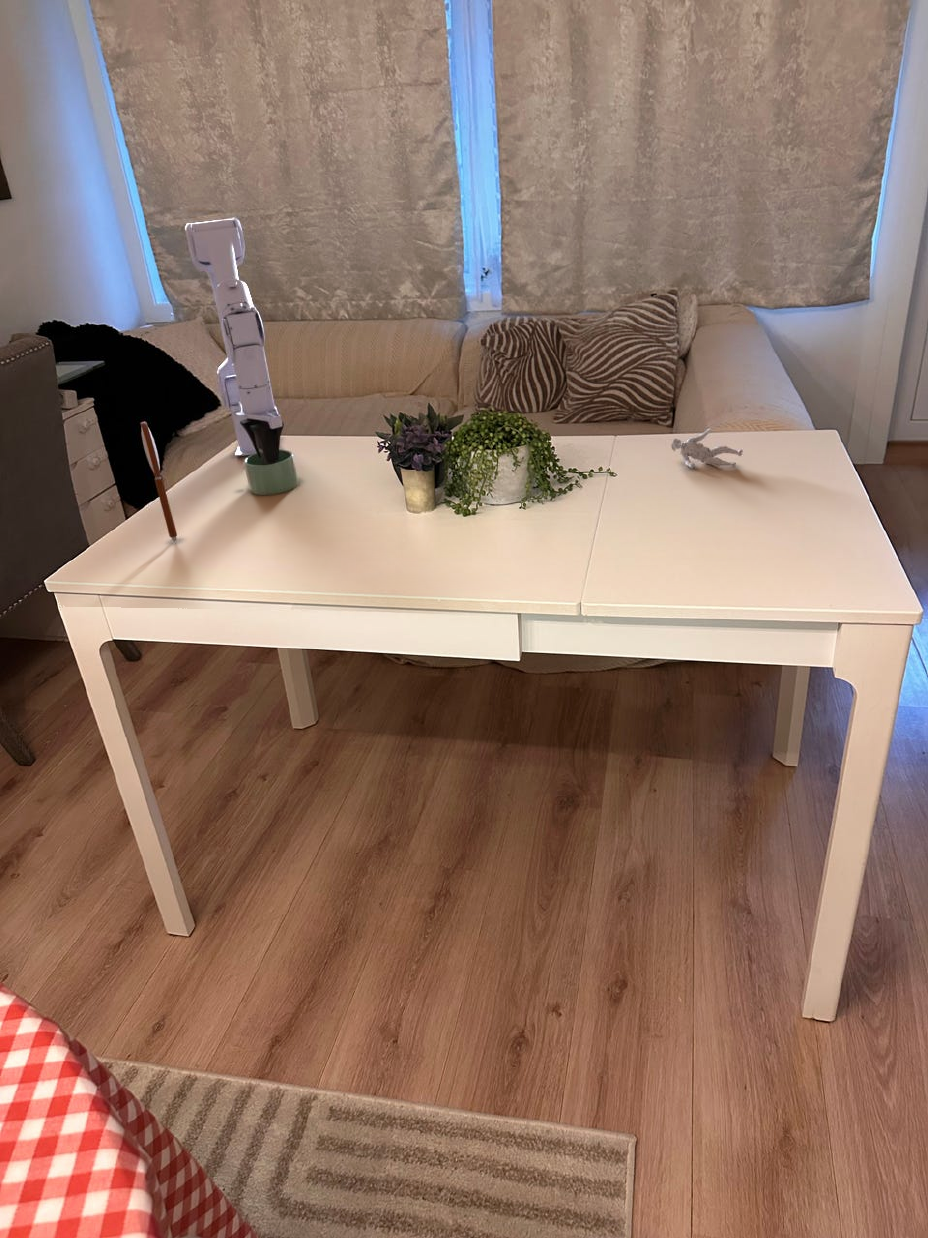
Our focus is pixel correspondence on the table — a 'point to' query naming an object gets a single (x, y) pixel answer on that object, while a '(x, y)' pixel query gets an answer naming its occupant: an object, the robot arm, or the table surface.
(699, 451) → the soldier figure
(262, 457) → the brush
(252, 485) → the cup
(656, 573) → the table surface
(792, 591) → the table surface
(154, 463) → the magnifying glass
